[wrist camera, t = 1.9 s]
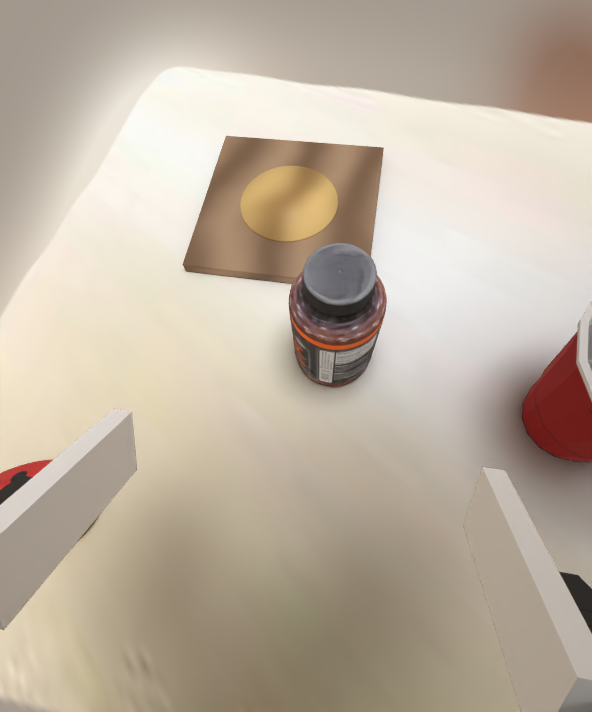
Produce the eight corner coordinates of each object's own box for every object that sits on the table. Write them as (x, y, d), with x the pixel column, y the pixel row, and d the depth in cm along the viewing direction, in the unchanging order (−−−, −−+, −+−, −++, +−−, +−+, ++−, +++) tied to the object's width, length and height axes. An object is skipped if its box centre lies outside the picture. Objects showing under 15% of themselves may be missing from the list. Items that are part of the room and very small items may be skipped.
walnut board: (382, 156, 39) (383, 146, 38) (365, 292, 33) (367, 284, 32) (228, 144, 41) (225, 134, 40) (186, 271, 35) (182, 263, 34)
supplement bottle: (288, 329, 33) (273, 238, 22) (358, 313, 33) (376, 215, 22) (305, 396, 30) (298, 330, 20) (380, 379, 30) (412, 304, 20)
